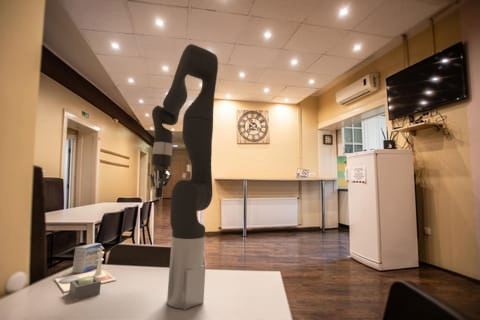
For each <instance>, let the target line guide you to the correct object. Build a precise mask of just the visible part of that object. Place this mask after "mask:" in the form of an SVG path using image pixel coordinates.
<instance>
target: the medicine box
mask: <svg viewBox="0 0 480 320" xmlns="http://www.w3.org/2000/svg"><path fill="white" fill-rule="evenodd" d="M101 246H103V245H102V243H98V242H92V243H91V242H90V243H88V244H83V245H80V246H77V247H74V254H73V255H74V257H73V263H72V264H73V265H72V273H75V274H82V273H87V272H91V271H92V270H96V269H97V265H98V261H96V260H97V259H98V254H97V253H98V252H100V250H98V249H99V248H101Z"/></svg>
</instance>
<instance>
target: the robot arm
mask: <svg viewBox="0 0 480 320" xmlns="http://www.w3.org/2000/svg"><path fill="white" fill-rule="evenodd" d="M178 62H179V63H178V65H177V68H176V70H175V74H174V77H173V80H172V83H171V85H170V88H169V90H168V92H167V94H166V96H165V98H164V99H163V101H162V105H156V106H155V107H154V108H153V109H152V110H151V111H152V112H151V117H152V123H153V127H154V137H153V138H154V140H153V141H154V142H153V146H152V154H151V155H152V156H151V166H153V167H154V169H153V173H151V174H150V175H149V177H150V180H151V184H152V187H154V188H155V195H154V197H155V198H159V199H161V198H162V197H163V190H164V187H167V185H168V183H169V181H170V179H171V177H172V174H171V173H169V168H170V167H171V166H172V157H173V156H172V154H173V136H174V135H173V131H172V130H170V129H169V128H166V127H165V126H164V125H167V126H175V125H176V124H178V122H179V118H180V117H179V116H180V113H181V110H182V108H183V107H184V105H185V104H186V102H187V99H188V91H187V89H188V88H187V86H186V77H187V76H190V77H193V78H195V79H199V80H201V82H202V83H201V89H200V92H199V93H198V95H197V97H196V98H195V99H194V100H193V101H192V103H190V105H189V106H188V107H187V108H186V110H185V111H184V114H183V118H182V119H183V121H182V129H181V130H182V131H181V132H182V140H183V144H184V147H185V150H186V153H187V155H188V157H189V162H190V167H191V171H190V172H191V174H190V178H183V179H180V180H178V181H176V182H175V184H174V186H173V187H172V190H171V195H170V217H169V218H170V219H169V220H170V227H171V244H170V245H171V246H170V257H169V258H170V259H169V269H168V270H169V271H168V285H167V298H166V300H167V301H166V303H167V304H168V306H170V307H171V308H175V309H181V310H184V311H186V310H188V309H191V308H193V307H196V306H198V305H201V304H203V303H204V300H205V299H204V298H205V283H206V282H205V281H206V265H204V260H205V259H204V257H205V243H206V242H205V241H206V226H205V225H204V224H202V223H201V222H199V220H198V212H201V211H204V210H206V209H208V207H210V205H211V202H212V200H213V177H212V176H213V175H212V174H213V173H212V172H213V171H212V152H213V151H212V149H213V148H212V147H213V145H212V144H213V135H214V133H213V132H214V107H215V104H214V103H215V93H216V86H217V77H218V72H219V71H218V69H219V58H218V55H217V54H216V53H215V52H212V51H211V50H209V49H206V48H204V47H201V46H198V45H196V44H194V43H190V44H188V45H187V46H186V47H185V48H184V49H183V51H182V54H181V55H180V59H179V61H178Z"/></svg>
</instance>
